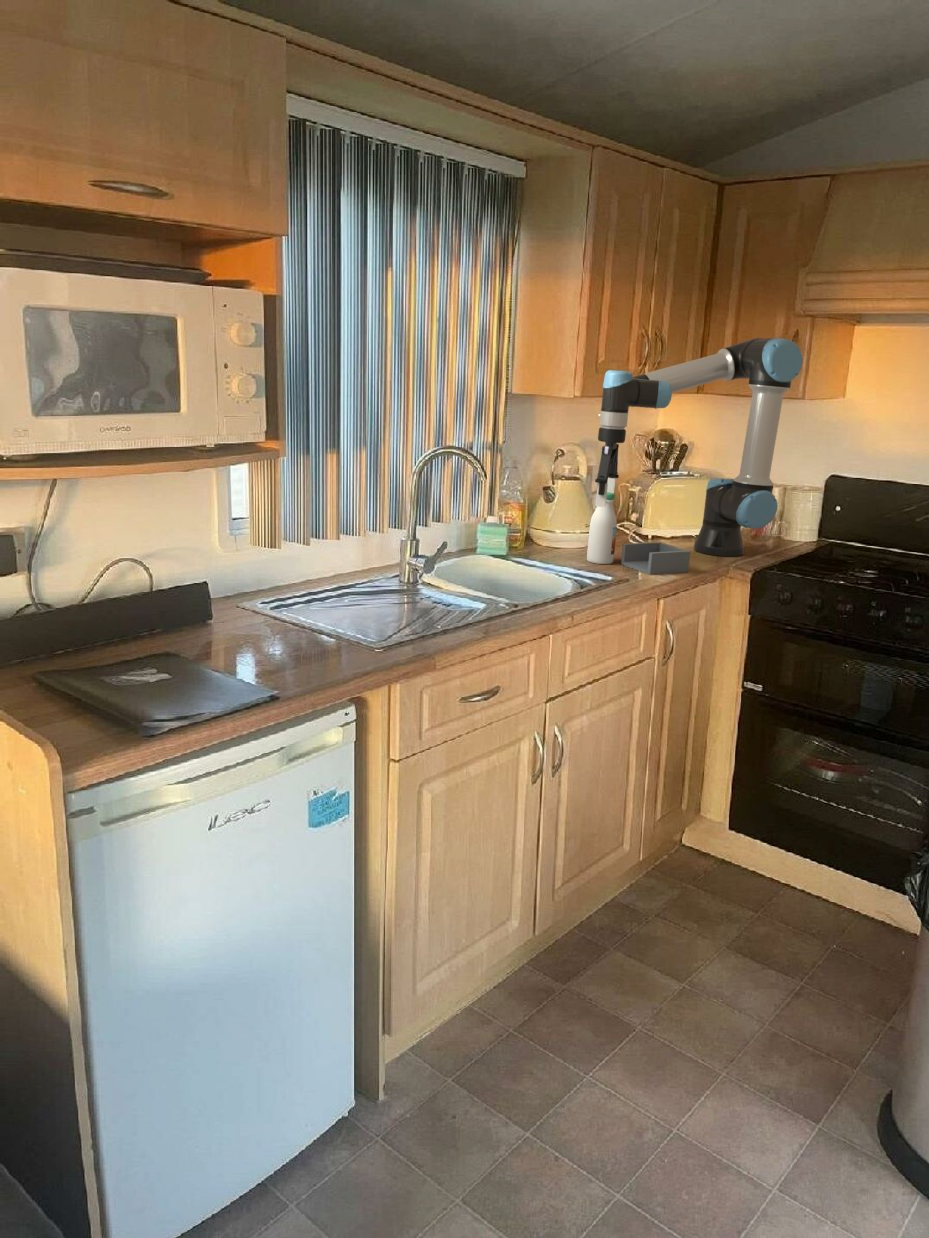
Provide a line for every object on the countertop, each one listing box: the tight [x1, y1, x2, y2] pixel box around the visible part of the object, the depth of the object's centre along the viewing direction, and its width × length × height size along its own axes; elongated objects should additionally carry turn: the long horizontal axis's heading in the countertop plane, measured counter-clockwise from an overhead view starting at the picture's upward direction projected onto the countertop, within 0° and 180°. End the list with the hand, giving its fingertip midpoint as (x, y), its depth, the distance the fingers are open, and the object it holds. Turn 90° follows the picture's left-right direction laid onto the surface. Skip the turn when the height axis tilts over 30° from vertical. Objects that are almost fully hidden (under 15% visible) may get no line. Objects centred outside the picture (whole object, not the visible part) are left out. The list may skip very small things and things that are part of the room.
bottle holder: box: [620, 541, 691, 575], centre depth 273 cm, size 13×13×6 cm
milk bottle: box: [586, 492, 618, 565], centre depth 276 cm, size 8×8×20 cm
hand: (604, 503), depth 274 cm, fingers open, 13 cm apart
